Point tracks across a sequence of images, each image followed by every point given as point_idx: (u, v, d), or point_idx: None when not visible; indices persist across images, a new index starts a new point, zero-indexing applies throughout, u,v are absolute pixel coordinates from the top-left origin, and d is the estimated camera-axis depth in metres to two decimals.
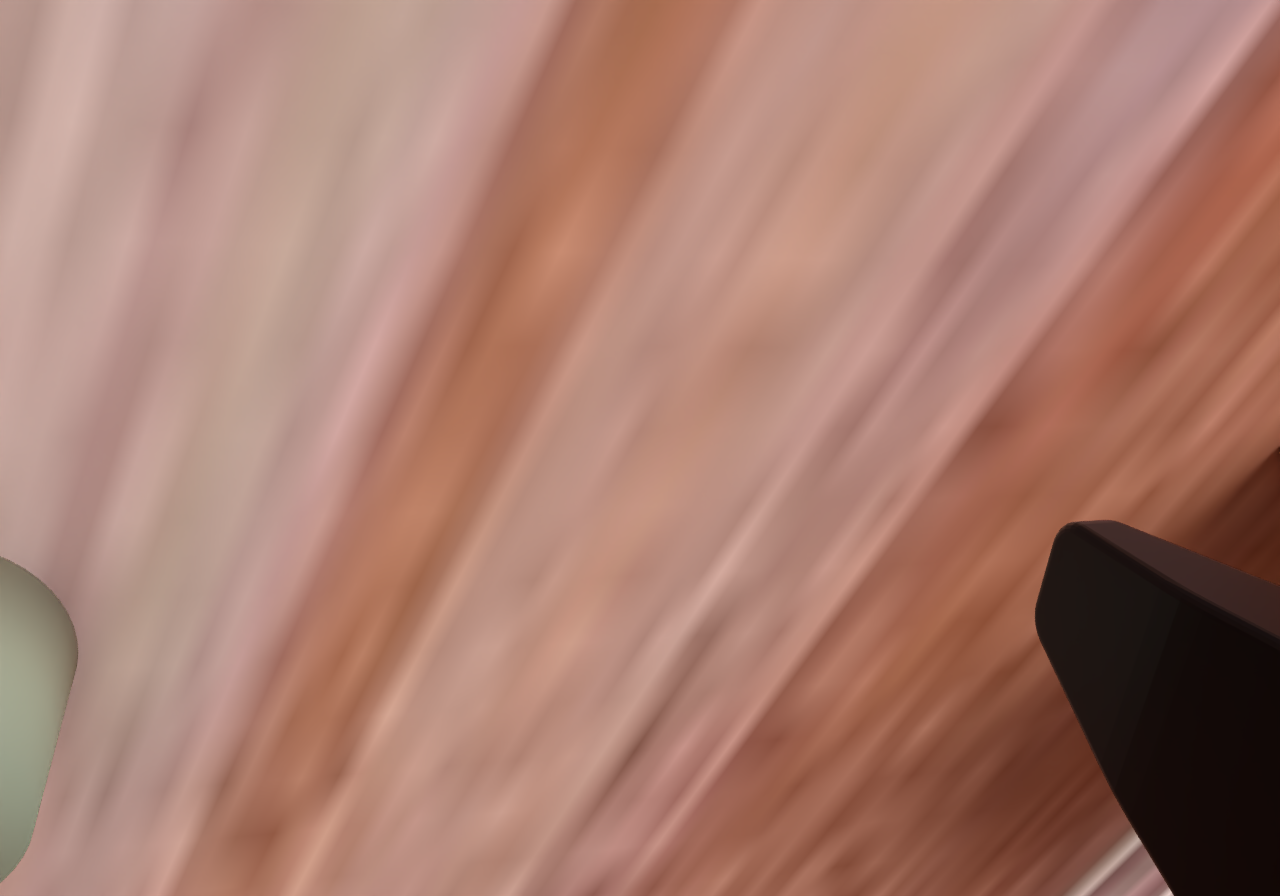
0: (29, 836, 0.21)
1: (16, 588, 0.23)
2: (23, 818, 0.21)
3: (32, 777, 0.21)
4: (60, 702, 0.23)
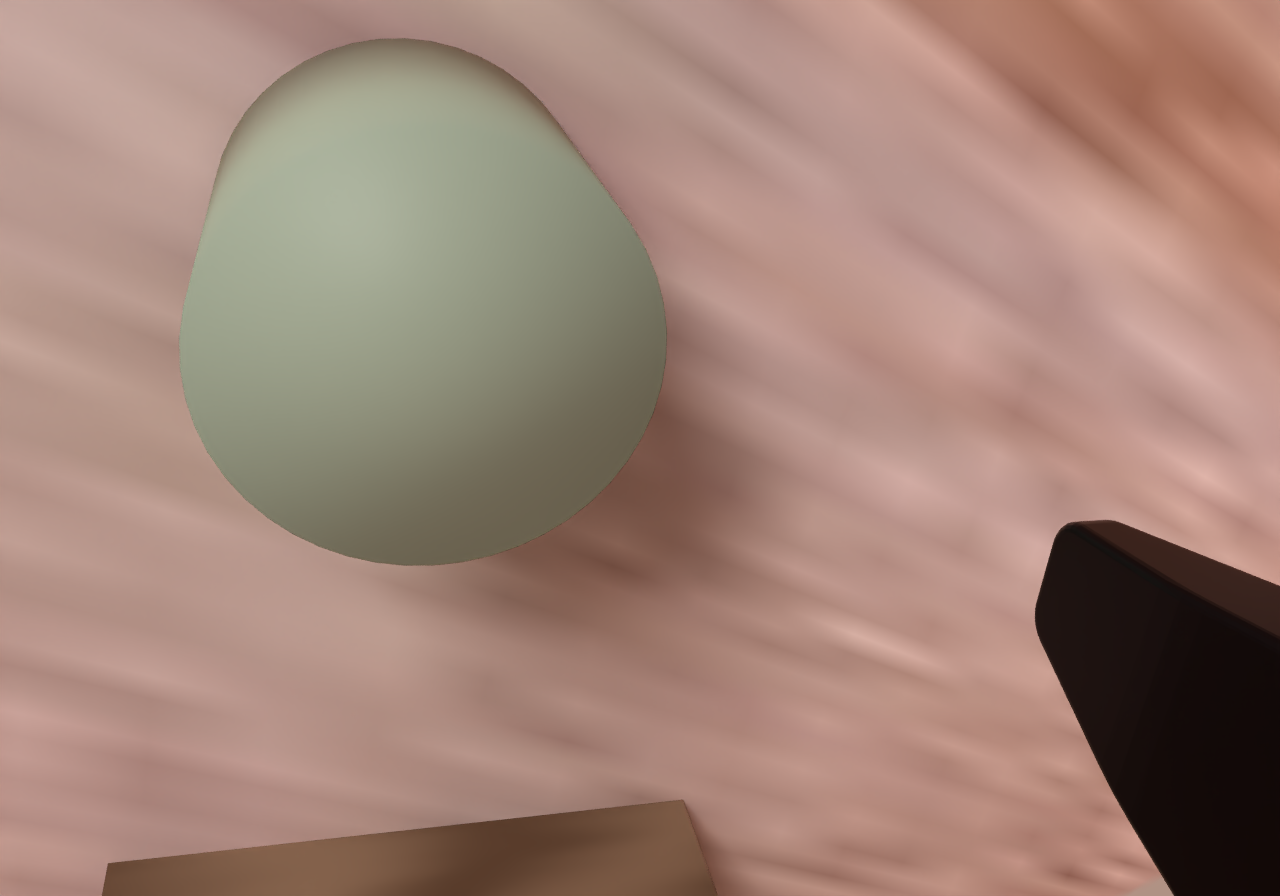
0: (548, 155, 0.12)
1: (279, 88, 0.15)
2: (503, 152, 0.12)
3: (433, 116, 0.12)
4: (445, 71, 0.14)
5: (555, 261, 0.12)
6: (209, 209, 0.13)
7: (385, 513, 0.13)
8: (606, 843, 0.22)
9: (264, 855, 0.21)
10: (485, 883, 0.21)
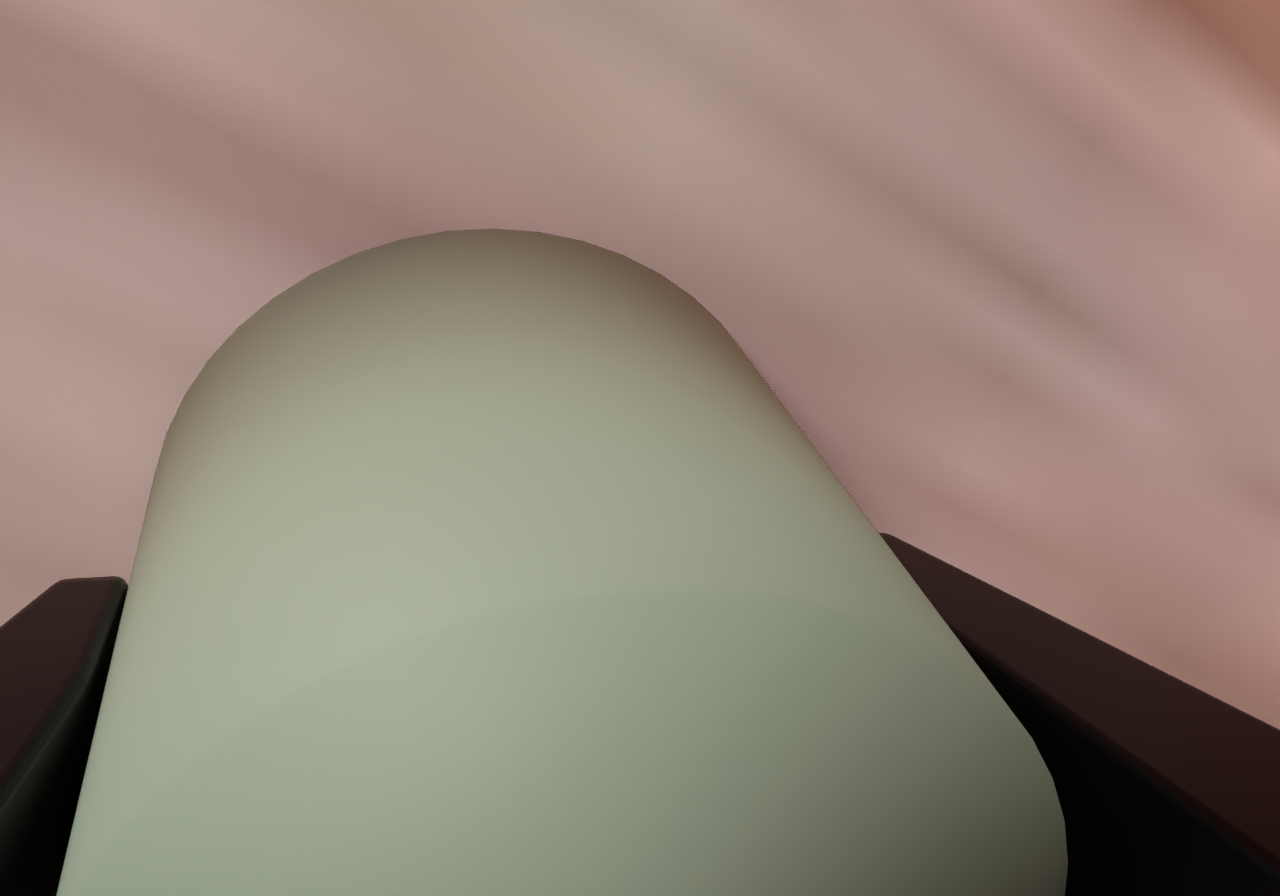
0: (880, 630, 0.05)
1: (267, 339, 0.08)
2: (785, 634, 0.05)
3: (622, 558, 0.05)
4: (591, 338, 0.07)
5: (865, 818, 0.06)
6: (122, 633, 0.07)
7: None
8: None
9: None
10: None
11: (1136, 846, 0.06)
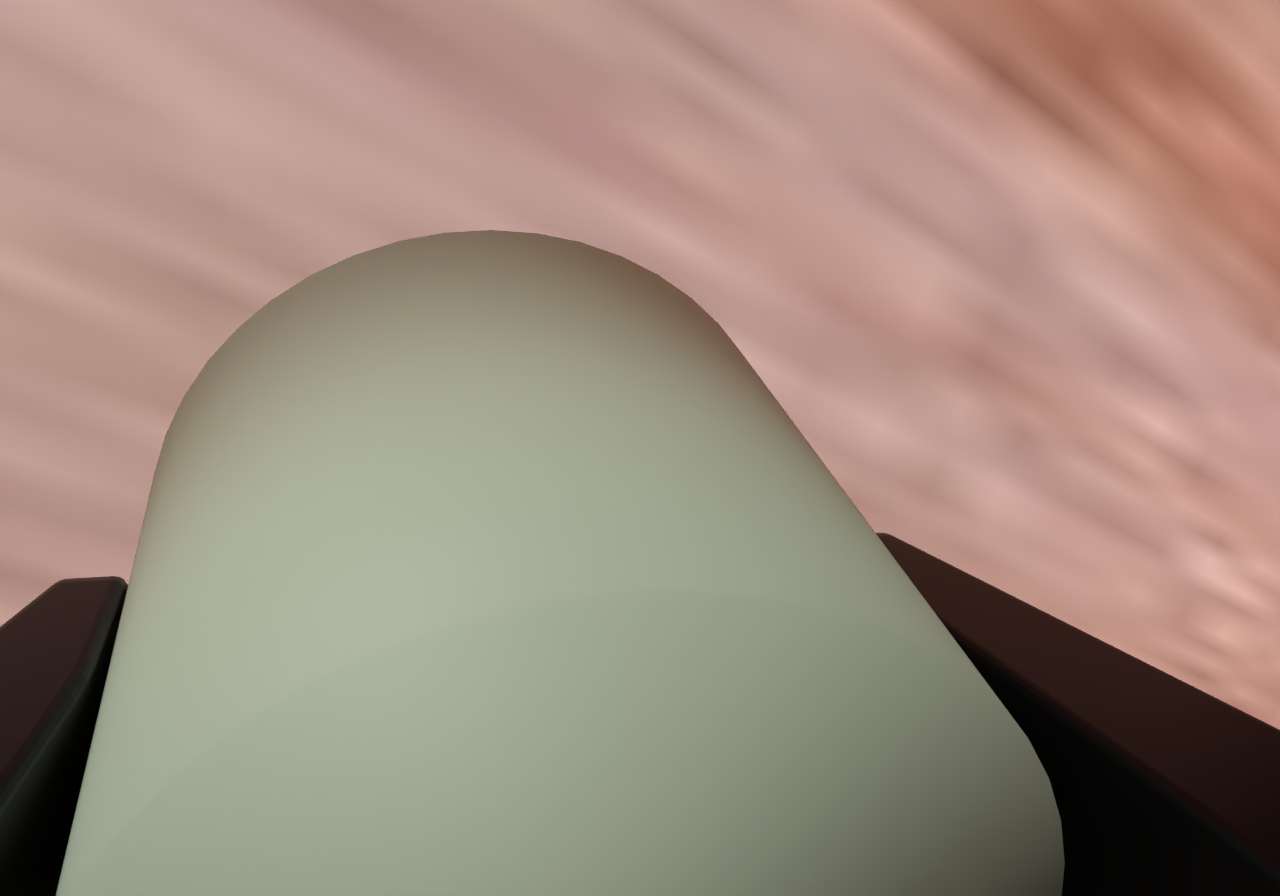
0: (877, 631, 0.05)
1: (266, 342, 0.08)
2: (782, 636, 0.05)
3: (620, 558, 0.05)
4: (590, 339, 0.07)
5: (862, 820, 0.06)
6: (121, 634, 0.07)
7: None
8: None
9: None
10: None
11: (1136, 846, 0.06)
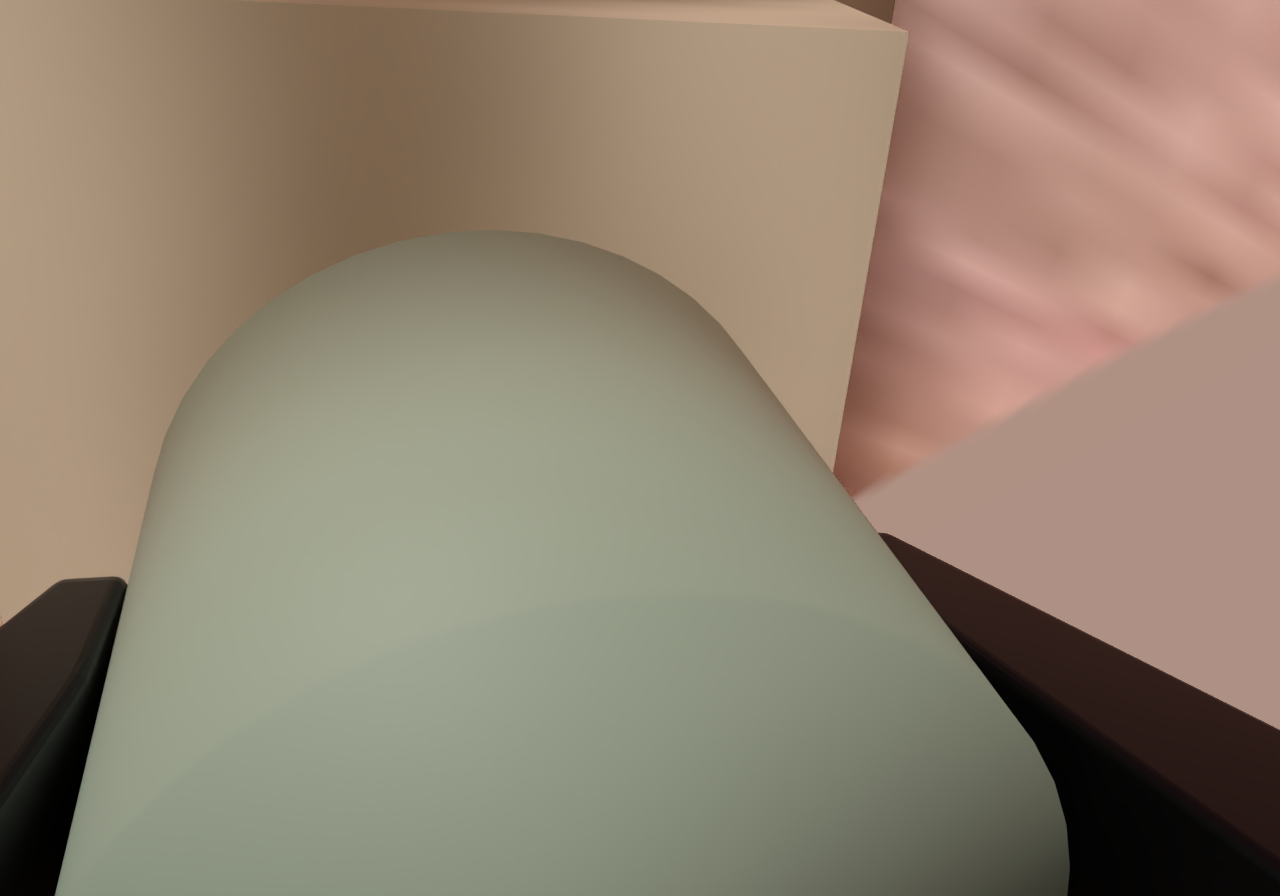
0: (881, 633, 0.05)
1: (265, 342, 0.08)
2: (785, 638, 0.05)
3: (622, 561, 0.05)
4: (591, 339, 0.07)
5: (865, 824, 0.06)
6: (120, 636, 0.07)
7: None
8: None
9: None
10: None
11: (1137, 847, 0.06)
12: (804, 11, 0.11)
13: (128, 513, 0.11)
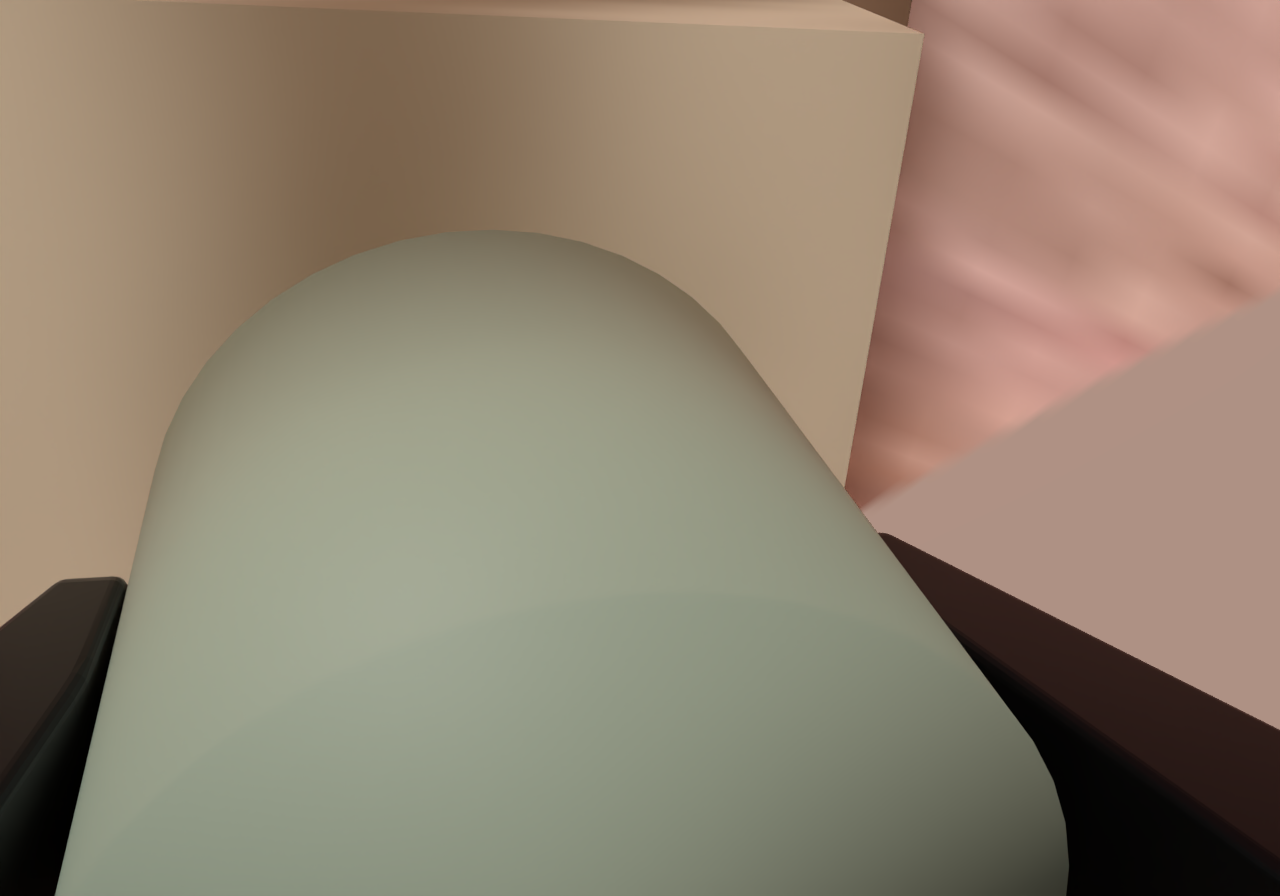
0: (881, 632, 0.05)
1: (266, 340, 0.08)
2: (785, 636, 0.05)
3: (622, 558, 0.05)
4: (591, 339, 0.07)
5: (865, 821, 0.06)
6: (121, 635, 0.07)
7: None
8: None
9: None
10: None
11: (1137, 846, 0.06)
12: (815, 13, 0.11)
13: (123, 531, 0.11)
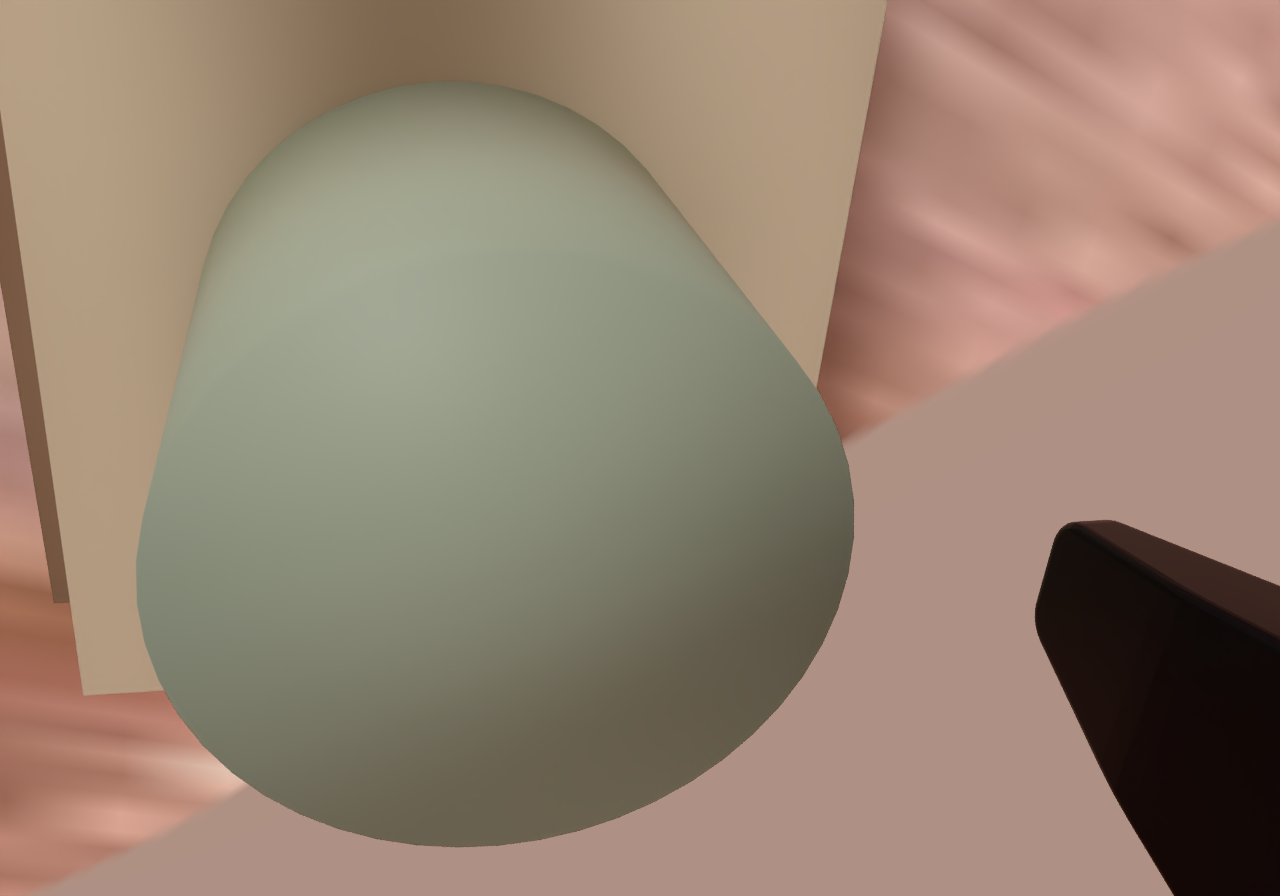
0: (708, 296, 0.08)
1: (294, 151, 0.10)
2: (643, 292, 0.08)
3: (535, 234, 0.08)
4: (534, 141, 0.10)
5: (705, 445, 0.08)
6: (190, 336, 0.09)
7: (434, 783, 0.09)
8: None
9: None
10: None
11: None
12: None
13: None
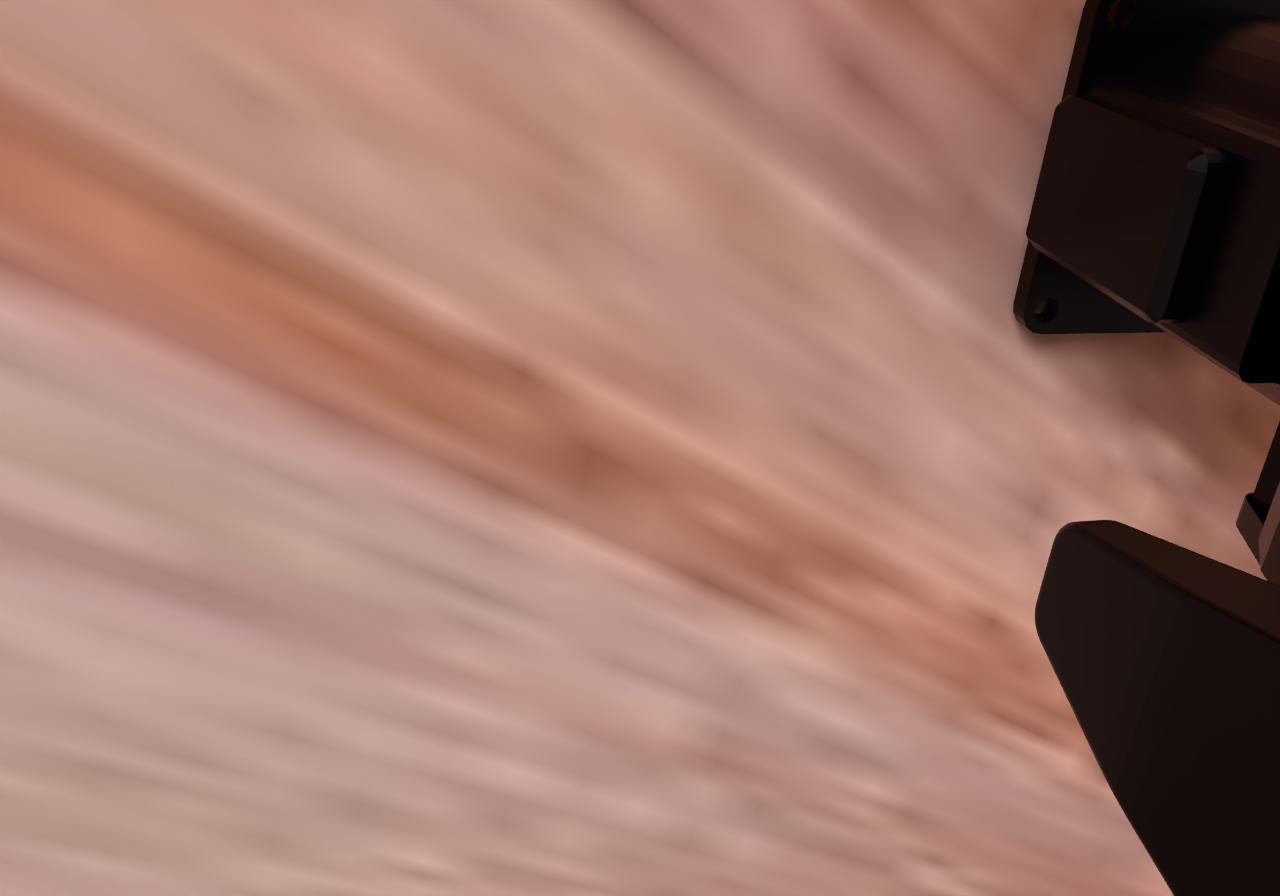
0: None
1: None
2: None
3: None
4: None
5: None
6: None
7: None
8: None
9: None
10: None
11: None
12: None
13: None
